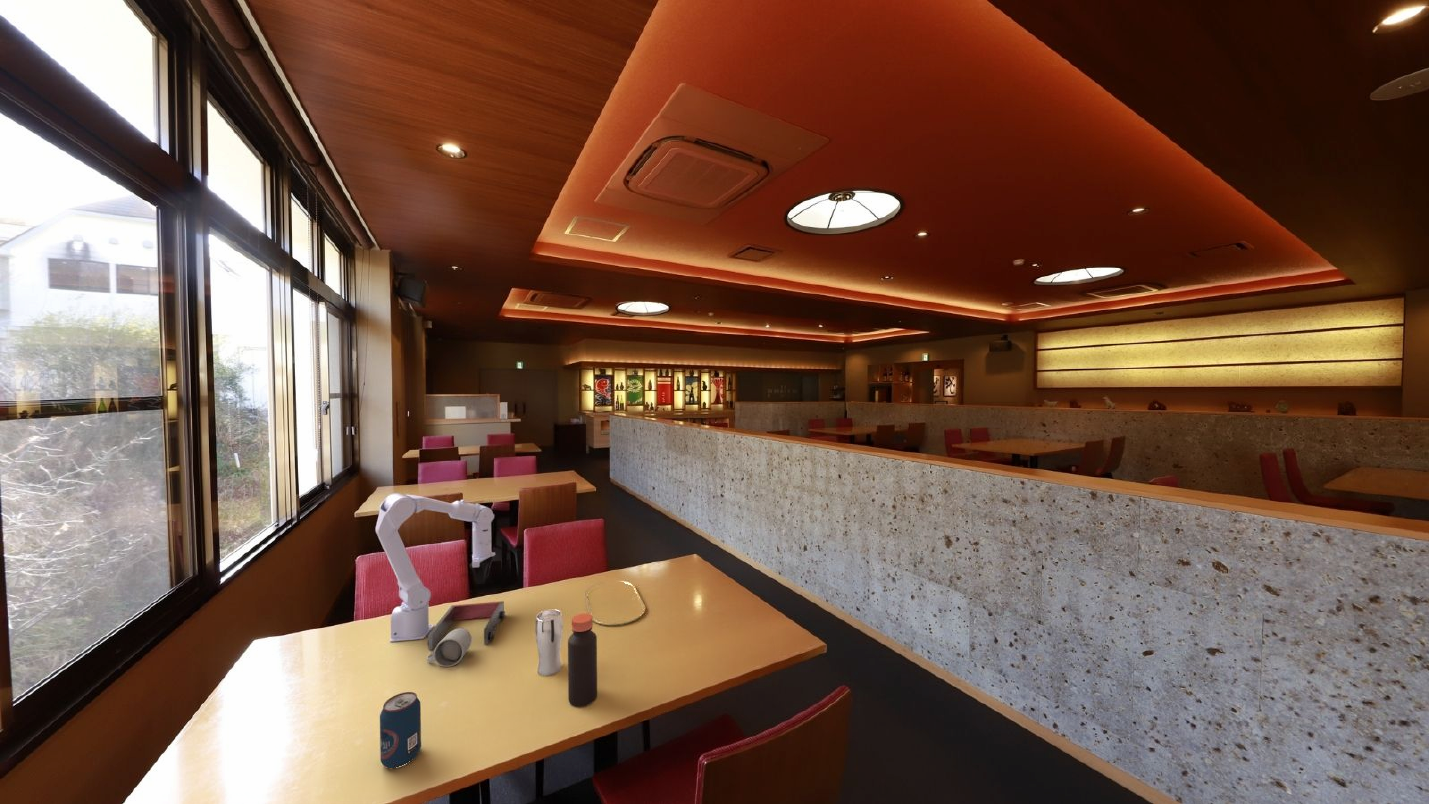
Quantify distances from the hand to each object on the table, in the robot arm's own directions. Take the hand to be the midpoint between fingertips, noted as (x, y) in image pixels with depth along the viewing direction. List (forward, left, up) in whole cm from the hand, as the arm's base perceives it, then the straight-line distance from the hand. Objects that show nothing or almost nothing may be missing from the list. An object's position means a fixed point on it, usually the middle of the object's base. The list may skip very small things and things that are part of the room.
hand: (482, 580), depth 158 cm
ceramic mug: (-1, -30, -11) cm, 31 cm away
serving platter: (+44, -3, -11) cm, 45 cm away
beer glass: (+28, -40, -11) cm, 50 cm away
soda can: (+3, -66, -11) cm, 66 cm away
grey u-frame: (0, -15, -10) cm, 18 cm away
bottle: (+38, -54, -11) cm, 66 cm away
